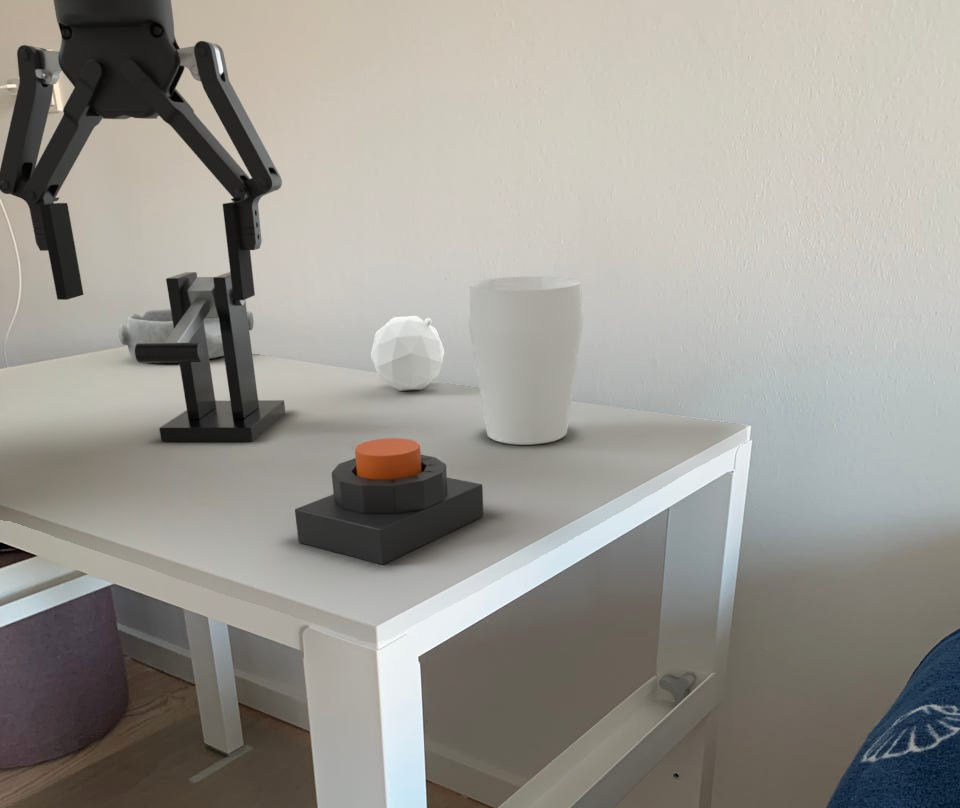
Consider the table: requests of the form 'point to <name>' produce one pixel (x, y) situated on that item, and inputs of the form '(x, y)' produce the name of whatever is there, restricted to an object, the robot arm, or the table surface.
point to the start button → (388, 458)
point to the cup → (526, 355)
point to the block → (388, 512)
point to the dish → (168, 330)
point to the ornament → (407, 353)
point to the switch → (184, 328)
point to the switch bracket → (203, 413)
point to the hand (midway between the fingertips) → (156, 298)
